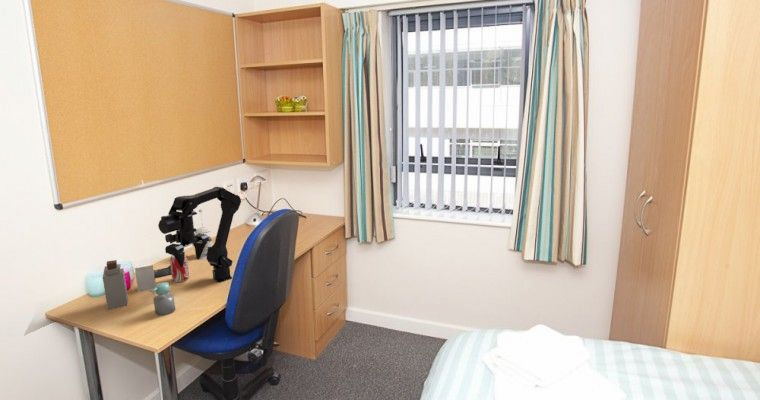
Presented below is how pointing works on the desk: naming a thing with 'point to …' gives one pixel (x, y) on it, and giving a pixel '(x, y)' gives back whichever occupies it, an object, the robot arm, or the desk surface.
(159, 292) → the pump head
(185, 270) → the soda can
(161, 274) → the calculator
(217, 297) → the desk surface
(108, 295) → the perfume bottle
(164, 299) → the grey rounded lump
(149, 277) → the grey rectangular block
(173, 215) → the robot arm
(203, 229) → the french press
